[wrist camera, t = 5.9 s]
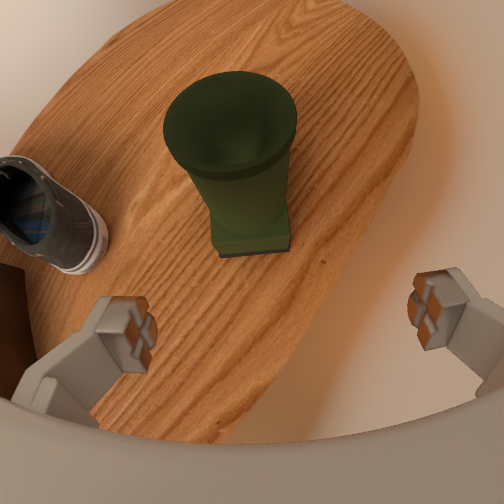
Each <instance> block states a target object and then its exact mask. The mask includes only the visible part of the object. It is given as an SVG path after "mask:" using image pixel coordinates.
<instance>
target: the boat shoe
mask: <svg viewBox="0 0 504 504" xmlns="http://www.w3.org/2000/svg"><path fill="white" fill-rule="evenodd" d="M0 233H1V234H2V235H4V236H5V237H6V238H7V239H8V240H9V241H10V242H11V243H12V244H13V245H15V247H16V248H18V249H19V250H20V251H22V252H23V253H25V254H27V255H29V256H32V257H40V258H41V259H43V260H44V261H46V262H48V263H49V264H51V265H53V266H54V267H56V268H58V269H59V270H60V271H62V272H64V273H67V274H76V275H81V274H85V273H87V272H89V271H90V270H92V269H93V268H94V267H96V266H97V264H98V263H99V262H100V260H101V259H102V258H103V256H104V254H105V252H106V249H107V245H108V230H107V226H106V224H105V222H104V220H103V218H102V217H101V216H100V215H99V214H98V213H97V212H96V211H95V210H94V209H93V208H92V207H91V206H90V205H89V204H87V203H86V202H85V201H83V200H82V199H81V198H79V197H78V196H76V195H75V194H74V193H72V192H71V191H69V190H68V189H66V188H65V187H63V186H62V185H60V184H59V183H58V182H56V181H55V180H54V179H52V177H51V176H50V174H49V173H48V172H47V171H46V170H45V169H44V168H43V167H42V166H40V165H39V164H38V163H36V162H35V161H33V160H32V159H30V158H27V157H24V156H19V155H11V156H5V157H1V158H0Z"/></svg>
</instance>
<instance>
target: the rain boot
mask: <svg viewBox="0 0 504 504" xmlns="http://www.w3.org/2000/svg"><path fill="white" fill-rule="evenodd" d="M296 124H297V111H296V107H295V104H294V101H293V99H292V97H291V96H290V94H289V93H288V92H287V90H286V89H285V88H284V87H283V86H281V85H280V84H279V83H277V82H276V81H274V80H272V79H271V78H268V77H266V76H264V75H260V74H257V73H252V72H245V71H230V72H223V73H218V74H214V75H210V76H208V77H205V78H203V79H201V80H199V81H196V82H195V83H193V84H192V85H190V86H189V87H187V88H186V89H185V90H183V91H182V92H181V93H180V94H179V95H178V96H177V97H176V98H175V100H174V101H173V102H172V104H171V105H170V107H169V109H168V111H167V113H166V116H165V119H164V124H163V135H164V140H165V143H166V145H167V147H168V149H169V151H170V152H171V154H172V156H173V157H174V159H175V160H176V161H177V163H178V164H179V165H180V166H181V167H182V168H184V169H185V170H186V171H187V172H188V174H189V175H190V177H191V179H192V181H193V182H194V184H195V186H196V188H197V189H198V191H199V193H200V194H201V196H202V198H203V200H204V201H205V203H206V205H207V206H208V208H209V210H210V220H211V241H212V245H213V246H214V248H215V249H216V250H217V251H218V252H219V256H220V258H228V257H238V256H249V255H259V254H269V253H279V252H289V251H290V244H289V243H290V237H291V233H290V225H289V217H288V210H287V202H286V191H287V179H288V166H289V153H290V146H291V145H292V142H293V140H294V137H295V133H296Z"/></svg>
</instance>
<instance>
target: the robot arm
mask: <svg viewBox="0 0 504 504" xmlns="http://www.w3.org/2000/svg"><path fill="white" fill-rule="evenodd" d="M413 286H414V288H415V290H414V291H413V292H412V293H411V295H410V296H409V300H408V304H407V306H408V316H409V319H410V321H411V324H412V325H413V326H415V327H416V328H418V329H419V330H418V333H417V336H418V338H419V340H420V342H421V345H422V347H423V349H424V351H427V350H432V349H436V348H441V347H445V346H447V349H449V350H450V351H451V352H452V353H453V354H454V355H456V356H457V357H458V358H459V359H460V360H461V361H463V362H464V363H465V364H466V365H467V366H468V367H469V368H470V369H472V370H473V371H474V372H475V373H476V374H477V375H478V376H479V377H481V378H482V379H483V380H484V382H483V383H482V384H481V385H480V387H479V388H478V389H477V391H476V393H475V395H476V397H477V398H476V399H474V400H472V401H469V402H466V403H464V404H461V405H459V406H456V407H453V408H451V409H448V410H445V411H442V412H439V413H436V414H433V415H430V416H427V417H423V418H420V419H417V420H413V421H410V422H406V423H402V424H399V425H394V426H390V427H386V428H382V429H378V430H373V431H368V432H363V433H358V434H352V435H346V436H340V437H334V438H327V439H320V440H311V441H300V442H288V443H274V444H273V443H272V444H206V443H190V442H178V441H168V440H160V439H152V438H145V437H138V436H132V435H127V434H121V433H116V432H111V431H106V430H102V429H98V427H99V423H98V421H97V420H96V419H95V418H94V417H93V416H92V415H91V414H90V413H89V411H90V410H91V409H92V407H93V406H94V405H95V404H96V403H97V402H98V401H99V400H100V399H101V398H102V397H103V395H104V394H105V393H106V392H107V391H108V390H109V389H110V388H111V387H112V386H113V385H114V383H115V382H116V381H117V380H118V379H119V378H120V377H121V376H122V375H123V373H142V374H147V371H148V368H149V365H150V361H151V358H152V356H151V354H150V352H149V351H150V350H151V349H152V348H153V347H154V346H155V345H156V341H157V334H158V329H157V324H156V321H155V318H154V316H152V315H151V314H150V313H148V312H147V310H148V308H149V305H148V302H147V300H146V298H145V297H143V296H102V297H100V298H98V300H97V302H96V303H95V305H94V307H93V309H92V310H91V312H90V314H89V316H88V317H87V319H86V321H85V323H84V325H83V327H82V328H81V330H80V332H75V333H74V334H72V335H71V336H70V337H68V338H67V339H66V340H64V341H63V342H62V343H60V344H59V345H58V346H56V347H55V348H54V349H52V350H51V351H50V352H48V353H47V354H46V355H44V356H43V357H42V358H41V359H39V360H38V361H37V362H35V363H34V364H33V365H32V366H30V367H29V368H28V369H26V370H25V372H24V374H23V376H22V378H21V380H20V382H19V384H18V386H17V388H16V390H15V392H14V395H13V397H12V399H11V401H9V400H7V399H5V398H2V397H0V504H504V308H502V307H500V306H499V305H497V304H495V303H493V302H492V301H490V300H488V299H486V298H485V299H482V297H481V296H480V295H479V293H478V292H477V291H476V289H475V288H474V287H473V285H472V284H471V283H470V282H469V281H468V279H467V278H466V276H465V275H464V274H463V273H462V271H461V270H460V269H458V268H456V267H454V268H448V269H444V270H438V271H431V272H424V273H417V275H416V276H415V278H414V281H413Z"/></svg>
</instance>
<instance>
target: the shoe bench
mask: <svg viewBox="0 0 504 504" xmlns="http://www.w3.org/2000/svg"><path fill="white" fill-rule="evenodd" d="M35 362H37V358H36V353H35V349H34V344H33V339H32V333H31V328H30V322H29V315H28V308H27V300H26V291H25V280H24V270H23V269H20V268H16V267H13V266H9V265H6V264H2V263H0V397H2V398H5V399H7V400H9V401H11V399H12V397H13V395H14V392H15V390H16V388H17V386H18V384H19V382H20V380H21V378H22V376H23V374H24V372H25V370H26V369H28V368H29V367H30V366H32V365H33V364H34V363H35Z"/></svg>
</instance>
